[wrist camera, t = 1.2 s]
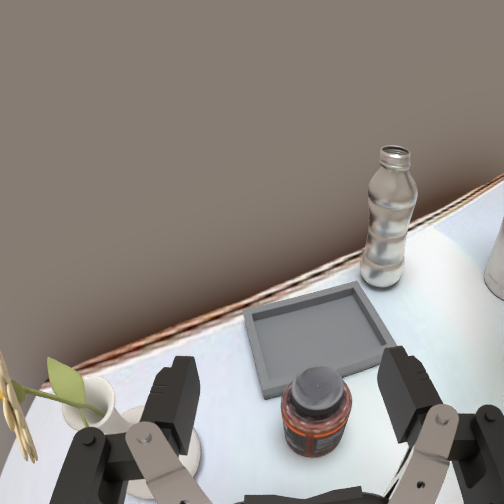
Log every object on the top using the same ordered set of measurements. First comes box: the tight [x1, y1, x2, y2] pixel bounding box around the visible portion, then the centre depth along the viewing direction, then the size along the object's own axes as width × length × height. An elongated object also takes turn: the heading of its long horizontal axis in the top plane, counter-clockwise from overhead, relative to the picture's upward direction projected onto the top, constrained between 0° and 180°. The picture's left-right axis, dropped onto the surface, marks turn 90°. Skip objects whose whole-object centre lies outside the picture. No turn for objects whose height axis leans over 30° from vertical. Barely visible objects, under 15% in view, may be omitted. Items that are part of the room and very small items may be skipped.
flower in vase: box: [0, 350, 201, 499], centre depth 19 cm, size 13×11×25 cm
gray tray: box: [243, 281, 397, 400], centre depth 36 cm, size 16×12×2 cm
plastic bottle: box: [360, 146, 418, 288], centre depth 38 cm, size 6×7×20 cm
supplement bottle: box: [281, 365, 352, 457], centre depth 24 cm, size 6×6×11 cm
